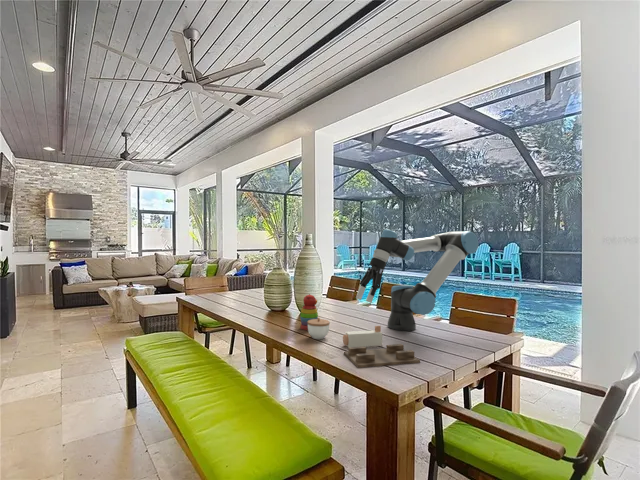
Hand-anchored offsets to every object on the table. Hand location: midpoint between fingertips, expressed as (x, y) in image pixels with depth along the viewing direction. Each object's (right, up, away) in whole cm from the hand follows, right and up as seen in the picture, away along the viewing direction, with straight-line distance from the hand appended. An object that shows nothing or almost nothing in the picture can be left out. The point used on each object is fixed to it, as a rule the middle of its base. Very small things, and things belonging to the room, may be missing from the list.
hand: (363, 300), depth 168 cm
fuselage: (-1, -19, -10) cm, 21 cm away
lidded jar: (-22, -18, +1) cm, 28 cm away
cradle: (+4, -19, -27) cm, 33 cm away
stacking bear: (-26, -18, +19) cm, 37 cm away
